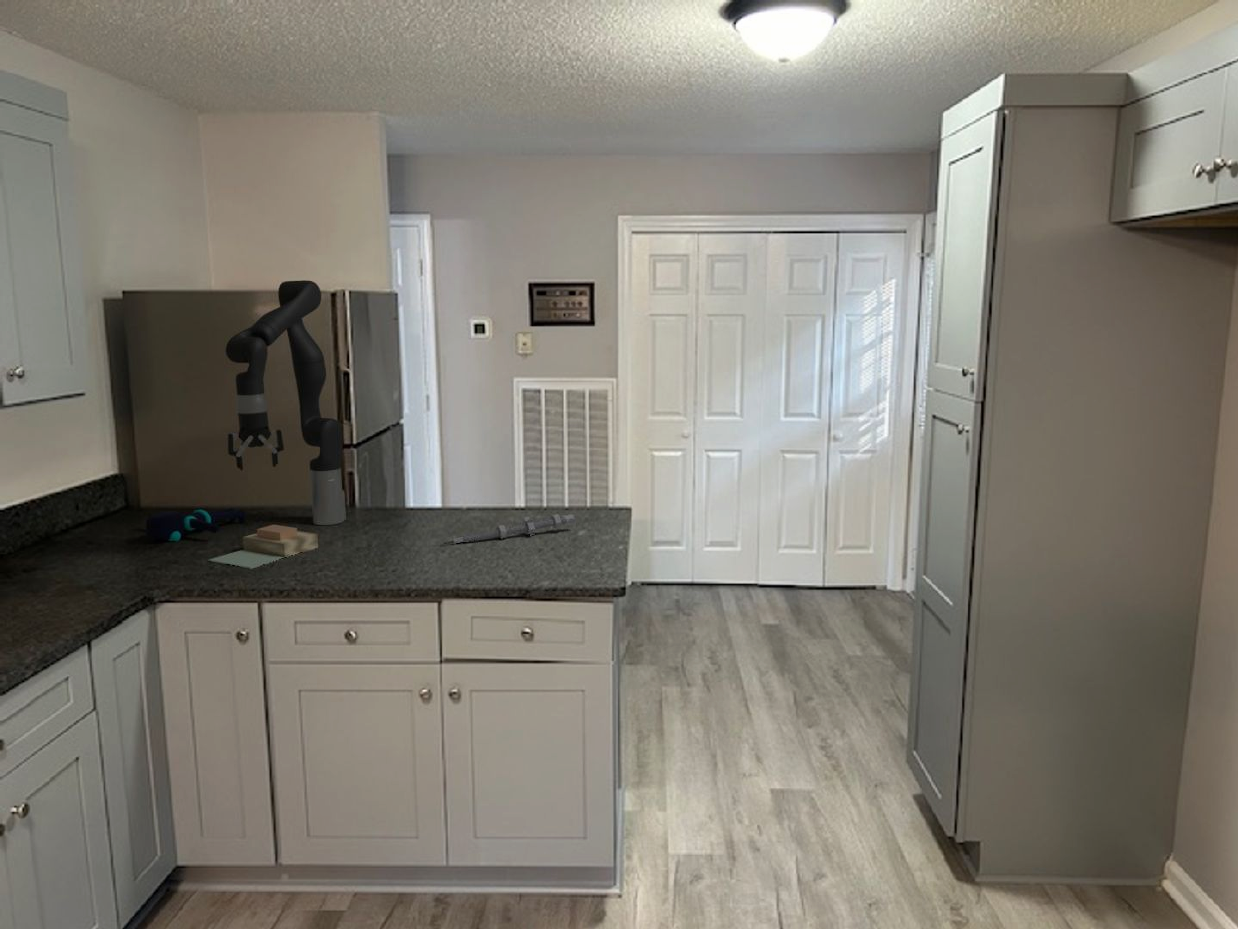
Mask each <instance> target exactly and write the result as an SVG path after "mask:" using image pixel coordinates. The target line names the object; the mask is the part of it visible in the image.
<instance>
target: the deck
mask: <svg viewBox="0 0 1238 929" xmlns="http://www.w3.org/2000/svg"><path fill="white" fill-rule="evenodd" d="M318 536H319V535H318V533H313V532H306V531H302V530H301V531H300V530H297V536H295V537H291V538H288V539H285V540H281V541H280V540H274V539H267V538H261V537H257V532H256V533H253V534H249V535H246V536H245V535H244V536H242V541H243V543H242V544H243V550H245V551H251V552H257V553H263V554H268V555H274V556H280V557H284V559H285V557H287V558H290V557H292V556H291V555H293V556H296V555H295V554H297V555H299V554H298V553H300V552H303V553H306V552H309V551H311V550H312V551H313V550H315V548H316V549H318V548H319V541H318V540H319V539H318V538H319V537H318ZM300 554H301V553H300ZM289 556H290V557H289Z"/></svg>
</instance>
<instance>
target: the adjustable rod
mask: <svg viewBox="0 0 1238 929" xmlns="http://www.w3.org/2000/svg"><path fill="white" fill-rule="evenodd" d="M523 520H524V523H522V524H518V525H511V526H507V527H506V526H505V525H504V524H500V525H496V528H495V529H490V530H487V531H481V532H476V533H471V534H465V535H462V536H461V537H457V538H452V540H451V541H447V542H440V546H443V545H447V544H453V543H459V542H467V541H468V542H469V541H471V542H472V541H473V542H477V541H479V540H480V541H483V540H489V539H493V538H494V539H495V538H499V537H500V538H505V537H506V538H507V537H508V536H510V535H513V534H518V533H519V534H520V533H524V532H525V534H526V533H527V535H529V534H532V533H534V534H535V530H538V529H544V528H549V527H553V529H554V528H555V529H561V525H565V524H570V523H574V522H575V515H574V514H567V515H565V514H564V515H562V516H560V515H559V514H558V513H557V514H553V515H551V516H550V518H548V519H542V520H538V521H534V519H533V518H531V517H530V516H524V517H523ZM474 540H475V541H474ZM476 540H477V541H476ZM468 542H467V543H468Z"/></svg>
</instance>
